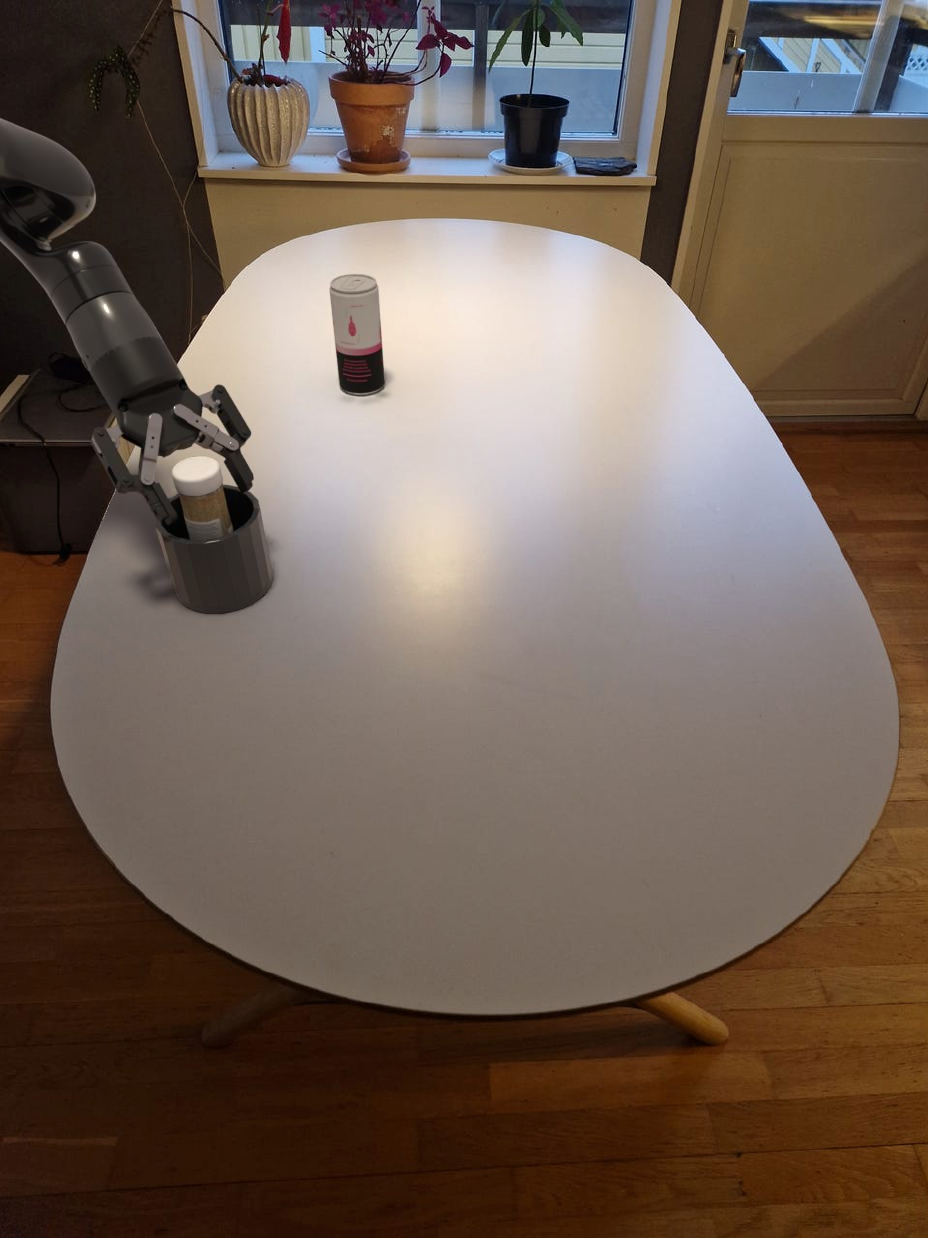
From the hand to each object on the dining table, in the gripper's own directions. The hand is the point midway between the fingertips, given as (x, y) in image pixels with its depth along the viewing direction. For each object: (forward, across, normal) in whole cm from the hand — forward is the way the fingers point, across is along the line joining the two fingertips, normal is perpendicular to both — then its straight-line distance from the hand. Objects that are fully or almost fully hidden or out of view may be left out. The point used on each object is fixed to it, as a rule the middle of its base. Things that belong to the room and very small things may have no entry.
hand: (211, 505), depth 84 cm
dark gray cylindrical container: (+6, 0, +8) cm, 11 cm away
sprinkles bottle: (+6, 0, +8) cm, 10 cm away
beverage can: (-12, +38, +27) cm, 48 cm away
